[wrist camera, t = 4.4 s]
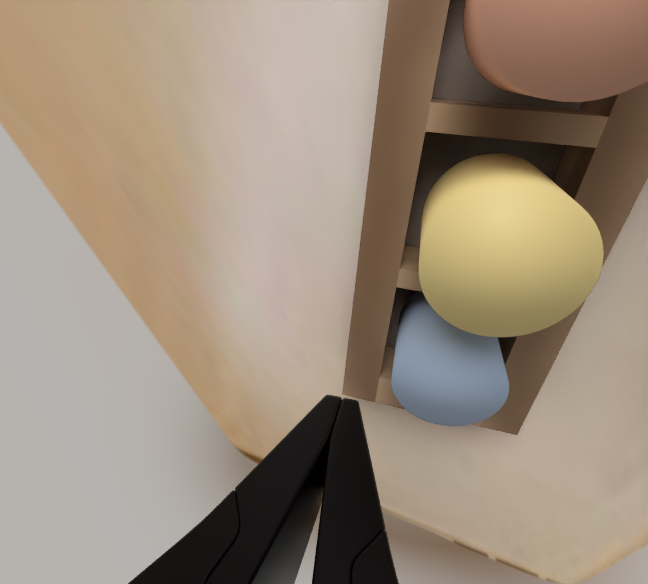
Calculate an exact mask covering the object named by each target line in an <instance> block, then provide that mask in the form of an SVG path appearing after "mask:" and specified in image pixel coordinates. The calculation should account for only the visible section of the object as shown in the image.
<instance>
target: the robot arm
mask: <svg viewBox="0 0 648 584" xmlns="http://www.w3.org/2000/svg"><path fill="white" fill-rule="evenodd" d="M321 503H322V507H321V514H320V523H319V530H318V540H317V546H316V555H315V563H314V571H313V579H312V584H399V583H398V579H397V576H396V571H395V567H394V563H393V559H392V555H391V551H390V546H389V542H388V537H387V533H386V531H385V524H384V519H383V515H382V510H381V505H380V500H379V496H378V491H377V486H376V482H375V477H374V472H373V468H372V463H371V458H370V454H369V449H368V444H367V439H366V435H365V430H364V425H363V421H362V416H361V411H360V407H359V403H358V401H357V400H352V399H347V398H343V399H342V398H340V397H337V396H332V395H326V396H325V397H324V398H323V399H322V400H321V401H320V402H319V403H318V404H317V405H316V406H315V407H314V408H313V409H312V410H311V411H310V412H309V413H308V414H307V415H306V416H305V417H304V418H303V419H302V420H301V421H300V422H299V423H298V424H297V425H296V426H295V427H294V428H293V429H292V430H291V431H290V432H289V433H288V435H287V436H286V437H285V438H284V439H283V440H282V441H281V442H280V443H279V444H278V445H277V446H276V447H275V448H274V449H273V450H272V451H271V452H270V453H269V454H268V455H267V456H266V457H265V458H264V459H263V460H262V461H261V462H260V463H259V464H258V465H257V466H256V467H255V468H254V469H253V470H252V471H251V472H250V473H249V475H247V477H246V478H245V479H244V480H243V481H242V482H241V483H240V484H239V485H238V486H237V487H236V488H235V491H234V490H233V491H232V492H231V493H230V494H229V495H228V496H227V497H226V498H225V499H224V500H223V501H222V502H221V503H220V504H219V505H218V506H217V507H216V508H215V509H214V510H213V511H212V512H211V513H210V514H209V515H208V516H206V518H204V520H202V521H201V522H200V523H199V524H198V525H197V526H196V527H194V528H193V529H192V530H191V531H190V532H189V533H188V534H186V535H185V536H184V537H183V538H182V539H181V540H180V541H178V542H177V543H176V544H175V545H174V546H172V547H171V548H170V549H169V550H168V551H166V552H165V553H164V554H163V555H162V556H160V557H159V558H158V559H157V560H156V561H155V562H153V563H152V564H151V565H150V566H148V567H147V568H146V569H145V570H144V571H143V572H141V573H140V574H139V575H138V576H137V577H135V578H134V579H133V580H132V581H131V582H129V583H128V584H294V583H295V580H296V577H297V574H298V571H299V568H300V565H301V562H302V559H303V556H304V553H305V550H306V547H307V544H308V541H309V538H310V535H311V532H312V529H313V526H314V524H315V521H316V518H317V515H318V512H319V509H320V506H321Z"/></svg>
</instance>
